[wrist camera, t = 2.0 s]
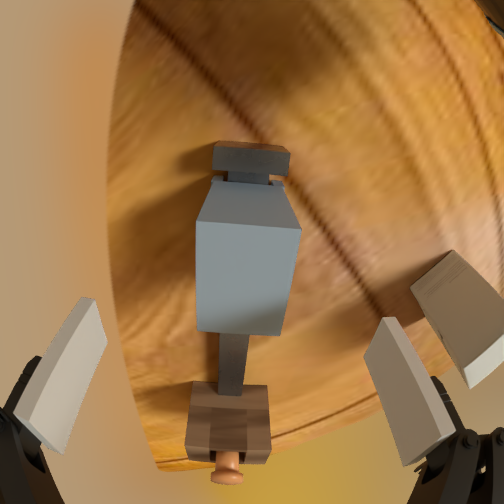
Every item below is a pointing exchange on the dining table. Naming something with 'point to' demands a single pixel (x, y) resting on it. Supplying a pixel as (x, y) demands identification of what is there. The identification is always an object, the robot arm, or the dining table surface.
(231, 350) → the rail
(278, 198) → the block
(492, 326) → the supplement box
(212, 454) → the end block
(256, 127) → the dining table surface
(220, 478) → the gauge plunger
